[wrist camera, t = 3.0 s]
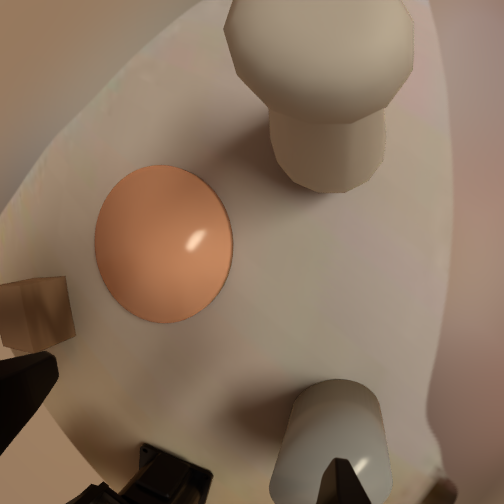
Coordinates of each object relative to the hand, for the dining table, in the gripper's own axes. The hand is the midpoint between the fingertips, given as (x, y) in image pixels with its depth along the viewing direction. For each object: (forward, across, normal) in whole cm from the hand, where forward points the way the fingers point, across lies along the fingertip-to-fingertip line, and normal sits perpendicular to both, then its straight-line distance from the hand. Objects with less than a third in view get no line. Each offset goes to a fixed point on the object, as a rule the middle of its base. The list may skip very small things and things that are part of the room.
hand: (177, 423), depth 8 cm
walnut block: (+12, +17, +8) cm, 22 cm away
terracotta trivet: (+12, +7, 0) cm, 14 cm away
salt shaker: (+13, -2, -8) cm, 16 cm away
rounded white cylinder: (+10, -7, +7) cm, 14 cm away
